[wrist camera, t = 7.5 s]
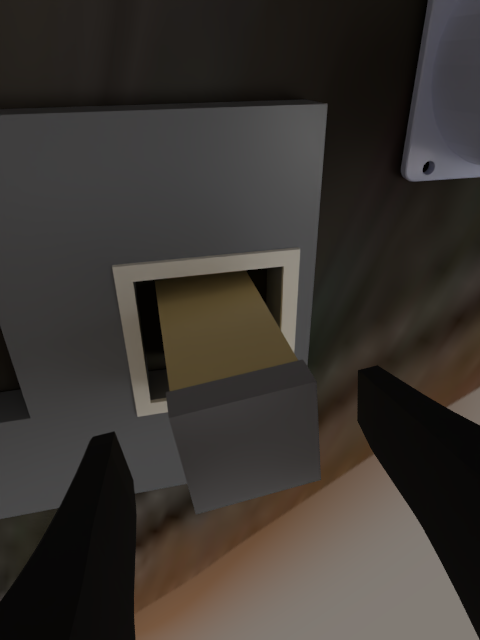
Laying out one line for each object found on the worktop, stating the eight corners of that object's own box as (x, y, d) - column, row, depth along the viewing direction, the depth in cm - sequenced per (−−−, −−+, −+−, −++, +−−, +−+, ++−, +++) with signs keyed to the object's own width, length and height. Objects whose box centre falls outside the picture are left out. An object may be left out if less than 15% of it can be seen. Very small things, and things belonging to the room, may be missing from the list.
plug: (243, 260, 18) (316, 381, 11) (253, 336, 20) (320, 480, 13) (151, 279, 18) (168, 418, 11) (170, 355, 20) (196, 514, 13)
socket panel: (305, 99, 16) (330, 104, 14) (287, 434, 24) (301, 465, 22) (-308, 118, 12) (-384, 129, 11) (-89, 499, 20) (-110, 543, 19)
